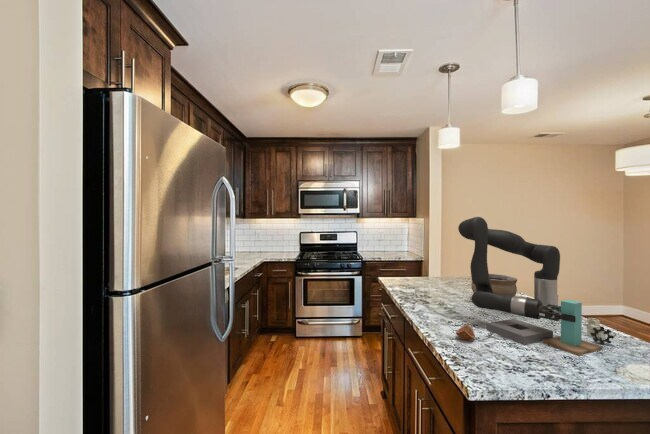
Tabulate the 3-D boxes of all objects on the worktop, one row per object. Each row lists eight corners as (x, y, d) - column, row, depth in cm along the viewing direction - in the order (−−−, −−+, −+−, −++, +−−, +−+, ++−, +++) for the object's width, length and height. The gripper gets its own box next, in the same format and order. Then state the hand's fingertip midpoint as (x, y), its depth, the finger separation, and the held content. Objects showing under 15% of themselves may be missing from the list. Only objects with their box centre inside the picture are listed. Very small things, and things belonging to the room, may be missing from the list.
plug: (567, 340, 118) (567, 299, 118) (581, 344, 114) (581, 302, 114) (560, 341, 116) (560, 300, 116) (574, 346, 112) (574, 303, 112)
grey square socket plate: (513, 325, 136) (513, 318, 136) (552, 338, 121) (552, 330, 121) (486, 330, 130) (486, 323, 130) (524, 344, 115) (524, 336, 115)
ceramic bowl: (462, 299, 179) (462, 273, 179) (493, 297, 186) (493, 271, 186) (494, 310, 158) (494, 280, 158) (527, 307, 164) (527, 278, 165)
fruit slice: (472, 345, 115) (473, 331, 115) (453, 341, 119) (453, 327, 119) (476, 337, 122) (476, 325, 122) (458, 334, 126) (458, 321, 126)
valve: (581, 332, 128) (591, 343, 117) (581, 316, 128) (591, 325, 118) (602, 335, 125) (614, 346, 115) (602, 318, 125) (614, 328, 115)
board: (565, 337, 123) (565, 334, 123) (602, 349, 112) (602, 346, 112) (541, 342, 117) (541, 340, 117) (577, 355, 106) (577, 352, 106)
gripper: (520, 300, 120) (574, 310, 108) (531, 294, 130) (581, 302, 118) (520, 320, 120) (574, 332, 108) (531, 313, 130) (581, 322, 118)
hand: (578, 316), depth 113 cm, fingers open, 8 cm apart
